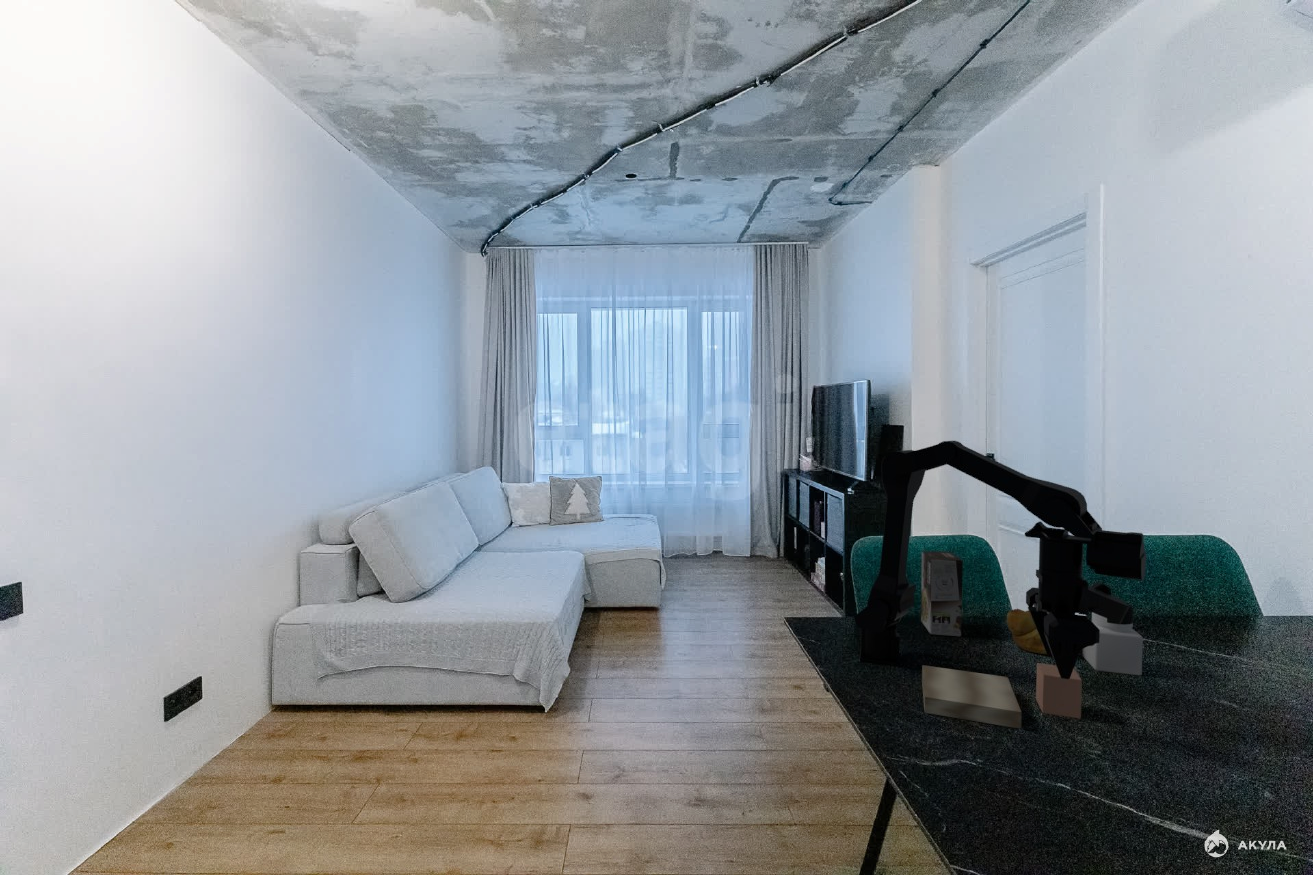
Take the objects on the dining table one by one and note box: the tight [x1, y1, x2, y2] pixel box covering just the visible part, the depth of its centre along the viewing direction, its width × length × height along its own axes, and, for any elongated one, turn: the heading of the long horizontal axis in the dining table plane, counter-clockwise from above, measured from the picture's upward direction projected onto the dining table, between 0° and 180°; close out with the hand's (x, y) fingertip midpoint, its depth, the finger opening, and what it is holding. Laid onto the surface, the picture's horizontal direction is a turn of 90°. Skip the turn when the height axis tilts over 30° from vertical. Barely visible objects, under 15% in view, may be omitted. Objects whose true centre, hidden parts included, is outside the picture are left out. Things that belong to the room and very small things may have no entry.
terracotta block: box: [1035, 662, 1083, 720], centre depth 96 cm, size 5×5×6 cm
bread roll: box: [1006, 608, 1047, 655], centre depth 122 cm, size 13×10×8 cm
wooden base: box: [921, 664, 1022, 730], centre depth 98 cm, size 13×13×2 cm
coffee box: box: [920, 550, 964, 637], centre depth 132 cm, size 9×6×16 cm
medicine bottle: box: [1081, 602, 1144, 676], centre depth 112 cm, size 7×7×12 cm
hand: (1057, 666), depth 96 cm, fingers open, 9 cm apart
